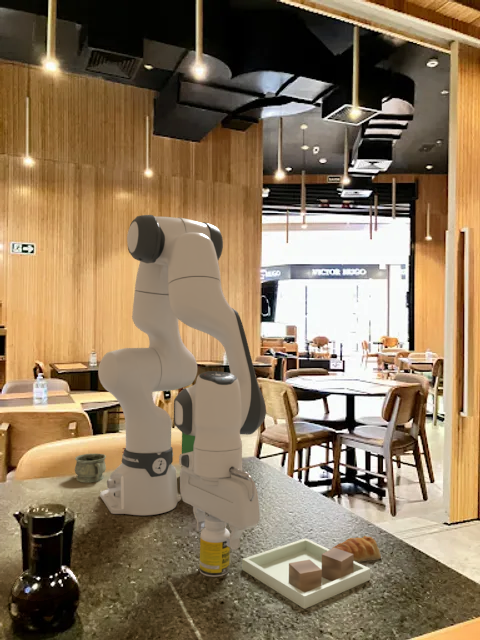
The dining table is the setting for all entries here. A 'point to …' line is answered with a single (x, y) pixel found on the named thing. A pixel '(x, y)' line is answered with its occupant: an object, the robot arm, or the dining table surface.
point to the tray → (276, 561)
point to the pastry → (361, 548)
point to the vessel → (90, 467)
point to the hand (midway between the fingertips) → (217, 539)
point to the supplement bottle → (214, 548)
